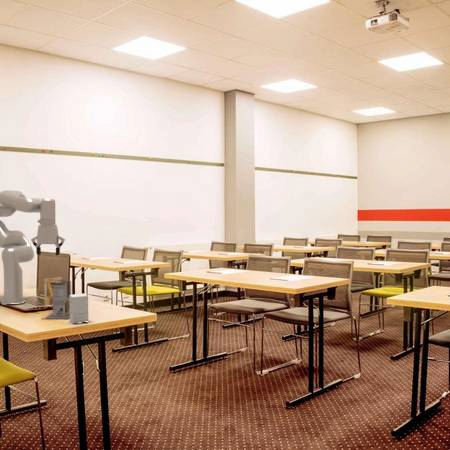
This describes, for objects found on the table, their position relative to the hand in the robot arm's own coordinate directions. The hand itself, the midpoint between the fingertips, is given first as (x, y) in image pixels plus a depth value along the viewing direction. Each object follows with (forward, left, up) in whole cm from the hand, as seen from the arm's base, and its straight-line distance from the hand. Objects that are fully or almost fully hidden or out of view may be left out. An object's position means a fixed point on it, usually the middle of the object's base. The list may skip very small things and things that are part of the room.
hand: (48, 255), depth 268 cm
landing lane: (+11, -16, -28) cm, 34 cm away
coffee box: (+12, -16, -28) cm, 34 cm away
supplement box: (+24, -30, -28) cm, 48 cm away
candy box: (+1, +5, -28) cm, 29 cm away
